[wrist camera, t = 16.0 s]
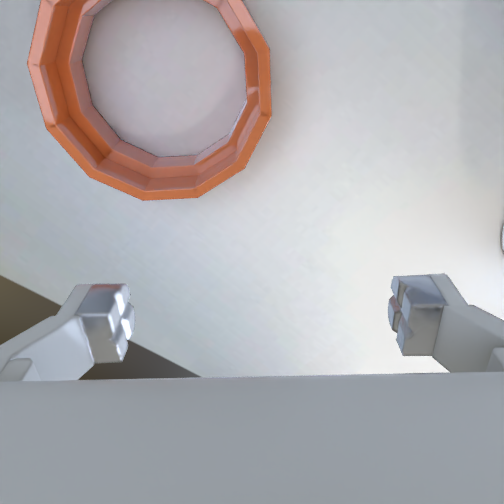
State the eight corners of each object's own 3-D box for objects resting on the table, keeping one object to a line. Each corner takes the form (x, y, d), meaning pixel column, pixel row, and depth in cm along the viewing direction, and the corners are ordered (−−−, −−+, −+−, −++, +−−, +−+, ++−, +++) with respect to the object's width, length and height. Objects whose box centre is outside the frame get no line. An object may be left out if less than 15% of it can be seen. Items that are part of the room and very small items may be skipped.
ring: (263, -53, 32) (266, -63, 27) (270, 170, 41) (273, 194, 36) (34, -38, 33) (-6, -45, 28) (90, 179, 42) (68, 204, 37)
